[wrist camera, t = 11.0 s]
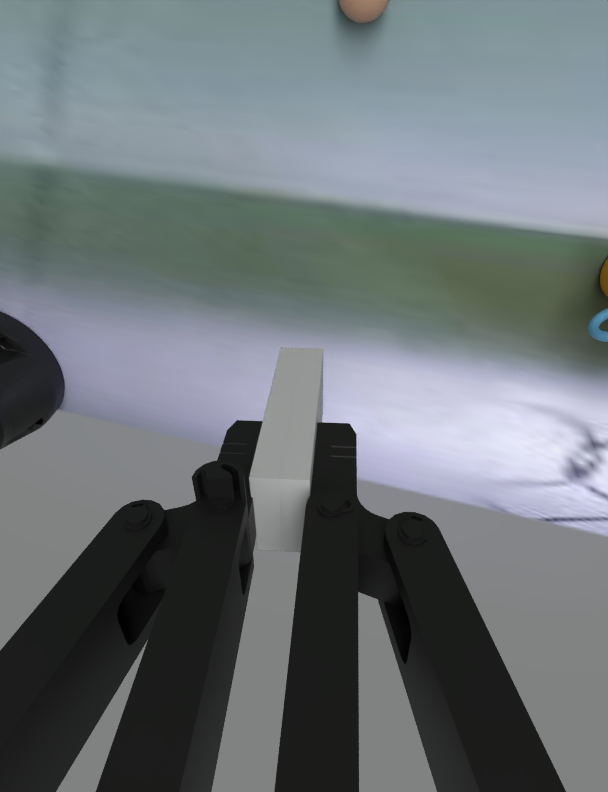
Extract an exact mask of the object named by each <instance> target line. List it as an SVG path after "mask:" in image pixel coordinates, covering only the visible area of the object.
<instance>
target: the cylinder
mask: <svg viewBox="0 0 608 792" xmlns="http://www.w3.org/2000/svg"><path fill="white" fill-rule="evenodd" d="M600 285H601V288H602V291H603V292H604V294H605V295H606V296H607V297H608V258H607V259H606V261H605V263H604V265H603V267H602V270H601V273H600ZM606 319H608V308H607V309H605V310H603V311H601V312H599V313H598V314H596V315H595V316H594V317H593V318H592V319H591V320H590V322H589V324H588V332H589V334H590V335H591V336H592V337H593V338H594V339H596V340H599V341H605V342H608V332H607V331H602V330H600V329H599V325H600V324H601V323H602V322H603V321H605V320H606Z"/></svg>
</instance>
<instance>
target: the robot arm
mask: <svg viewBox="0 0 608 792" xmlns="http://www.w3.org/2000/svg"><path fill="white" fill-rule="evenodd" d="M63 395H64V381H63V376H62V372H61V369H60V367H59V365H58V362H57V361H56V359H55V357H54V355H53V354H52V352H51V351H50V350H49V348H48V347H47V346H46V344H45V343H44V342H43V341H42V340H41V339H40V338H39V337H38V336H37V335H36V334H35V333H34V332H33V331H31V330H30V329H29V328H28V327H26V326H25V325H23V324H22V323H20V322H19V321H17V320H16V319H14V318H12V317H10V316H8V315H6V314H4V313H2V312H0V449H2V448H4V447H6V446H7V445H9V444H11V443H13V442H15V441H17V440H18V439H20V438H22V437H24V436H26V435H28V434H30V433H32V432H34V431H36V430H37V429H39V428H40V427H42V426H43V425H44V424H45V423H46V422H47V421H48V420H49V419H50V418H51V416H52V415H53V414H54V413H55V411H56V410H57V409H58V408H59V406H60V404H61V402H62V399H63ZM322 415H323V349H313V348H281V349H280V353H279V357H278V361H277V365H276V369H275V373H274V378H273V382H272V386H271V390H270V394H269V398H268V402H267V406H266V410H265V414H264V418H263V421H239V420H237V421H236V422H235V423H234V424H233V425H232V426H231V427H230V428H229V429H228V430H227V433H226V436H225V439H224V442H223V445H222V448H221V451H220V454H219V457H218V460H217V461H213V462H210V463H207V464H204V465H203V466H201V467H200V468H199V469H197V470H196V471H195V473H194V474H193V476H192V481H193V486H194V491H195V496H196V501H195V502H193V503H191V504H189V505H186V506H182V507H178V508H174V509H169V510H164V509H163V508H162V507H161V505H160V504H159V503H156V502H154V501H152V500H139V501H134V502H131V503H129V504H127V505H125V506H123V507H122V508H121V509H120V510H118V511H117V512H116V513H115V514H114V515H113V517H112V518H111V519H110V520H109V521H108V523H107V524H106V525H105V526H104V527H103V529H102V530H101V531H100V532H99V533H98V534H97V536H96V537H95V538H94V539H93V540H92V542H91V543H90V544H89V545H88V547H87V548H86V549H85V550H84V551H83V552H82V554H81V555H80V556H79V557H78V558H77V560H76V561H75V562H74V563H73V564H72V566H71V567H70V568H69V569H68V570H67V572H66V573H65V574H64V575H63V577H62V578H61V579H60V580H59V581H58V582H57V584H56V585H55V586H54V587H53V588H52V590H51V591H50V592H49V593H48V594H47V596H46V597H45V598H44V599H43V600H42V602H41V603H40V604H39V605H38V606H37V608H36V609H35V610H34V611H33V612H32V614H31V615H30V616H29V617H28V618H27V619H26V621H25V622H24V623H23V624H22V625H21V627H20V628H19V629H18V630H17V632H16V633H15V634H14V635H13V636H12V637H11V639H10V640H9V641H8V642H7V643H6V645H5V646H4V647H3V648H2V649H1V651H0V792H56V791H57V789H58V787H59V786H60V784H61V782H62V781H63V779H64V777H65V776H66V774H67V772H68V770H69V769H70V767H71V766H72V764H73V762H74V761H75V759H76V757H77V756H78V754H79V753H80V751H81V749H82V748H83V746H84V744H85V743H86V741H87V739H88V738H89V736H90V734H91V733H92V731H93V729H94V728H95V726H96V724H97V723H98V721H99V719H100V718H101V716H102V714H103V713H104V711H105V709H106V708H107V706H108V704H109V703H110V701H111V699H112V698H113V696H114V695H115V693H116V691H117V690H118V688H119V686H120V685H121V683H122V681H123V679H124V678H125V676H126V675H127V673H128V671H129V670H130V668H131V666H132V665H133V663H134V661H135V660H136V658H137V656H138V655H139V653H140V651H141V650H142V648H143V647H144V645H145V643H146V642H147V640H148V642H147V645H146V648H145V650H144V654H143V657H142V659H141V662H140V665H139V668H138V671H137V674H136V677H135V680H134V682H133V685H132V688H131V692H130V694H129V697H128V700H127V703H126V706H125V709H124V712H123V714H122V717H121V720H120V723H119V726H118V729H117V732H116V735H115V738H114V741H113V743H112V746H111V749H110V752H109V755H108V758H107V761H106V764H105V767H104V769H103V772H102V775H101V778H100V781H99V784H98V787H97V790H96V792H211V790H212V785H213V779H214V774H215V769H216V764H217V759H218V752H219V748H220V743H221V738H222V732H223V727H224V722H225V717H226V711H227V706H228V701H229V695H230V689H231V685H232V679H233V674H234V669H235V664H236V658H237V653H238V648H239V643H240V637H241V632H242V627H243V621H244V616H245V611H246V606H247V601H248V595H249V590H250V584H251V579H252V574H253V569H254V562H253V561H254V560H253V550H254V545H255V540H256V549H257V550H268V551H286V552H301V554H300V563H299V572H298V583H297V591H296V601H295V609H294V618H293V627H292V636H291V646H290V655H289V664H288V674H287V683H286V692H285V700H284V710H283V720H282V728H281V737H280V746H279V755H278V764H277V774H276V783H275V792H359V730H358V729H359V726H358V725H359V724H358V723H359V721H358V720H359V712H358V711H359V710H358V709H359V707H358V592H360V593H363V594H366V595H368V596H371V597H373V598H376V599H378V601H379V605H380V608H381V611H382V614H383V618H384V621H385V624H386V628H387V630H388V634H389V637H390V641H391V644H392V647H393V650H394V653H395V657H396V660H397V663H398V666H399V670H400V673H401V676H402V679H403V683H404V686H405V689H406V692H407V696H408V699H409V702H410V704H411V708H412V711H413V715H414V718H415V721H416V725H417V727H418V731H419V734H420V737H421V741H422V743H423V747H424V750H425V754H426V757H427V760H428V763H429V767H430V770H431V773H432V776H433V779H434V783H435V786H436V789H437V792H566V791H565V789H564V787H563V785H562V783H561V780H560V778H559V776H558V774H557V772H556V770H555V768H554V766H553V764H552V762H551V760H550V758H549V756H548V754H547V751H546V749H545V747H544V745H543V743H542V741H541V739H540V737H539V735H538V733H537V731H536V729H535V727H534V725H533V723H532V721H531V718H530V716H529V714H528V712H527V710H526V708H525V706H524V704H523V702H522V700H521V698H520V696H519V693H518V691H517V689H516V687H515V685H514V683H513V681H512V679H511V677H510V675H509V673H508V671H507V669H506V667H505V664H504V662H503V661H502V658H501V656H500V654H499V652H498V650H497V648H496V646H495V644H494V642H493V640H492V637H491V635H490V633H489V631H488V629H487V627H486V625H485V623H484V621H483V619H482V617H481V615H480V613H479V611H478V608H477V607H476V604H475V603H474V600H473V599H472V596H471V594H470V592H469V590H468V588H467V586H466V584H465V582H464V580H463V577H462V575H461V574H460V571H459V569H458V567H457V565H456V563H455V561H454V559H453V557H452V555H451V553H450V551H449V548H448V547H447V544H446V542H445V540H444V538H443V536H442V534H441V532H440V530H439V528H438V527H437V525H436V524H435V523H434V522H433V521H432V520H431V519H429V518H428V517H426V516H425V515H421V514H418V513H415V512H403V513H399V514H396V515H394V516H393V517H392V518H391V519H386V518H383V517H380V516H378V515H375V514H373V513H371V512H369V511H368V510H366V509H365V508H364V507H363V506H362V505H361V503H360V502H359V500H358V497H357V486H356V485H357V466H356V433H355V432H354V430H353V428H352V427H351V425H350V424H347V423H322ZM148 638H149V639H148Z"/></svg>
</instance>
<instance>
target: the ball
mask: <svg viewBox="0 0 608 792" xmlns="http://www.w3.org/2000/svg"><path fill="white" fill-rule="evenodd" d="M389 1H390V0H339V4H340V7H341V9H342V11H343V12H344V14H345V15H346V16H347V17H348V18H349V19H351V20H352V21H354V22H357V23H368V22H371V21H373V20H375V19H377V18H378V17H379V16H380V15H381V14H382V13H383V12H384V10H385V9H386V7H387V5H388V3H389Z"/></svg>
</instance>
